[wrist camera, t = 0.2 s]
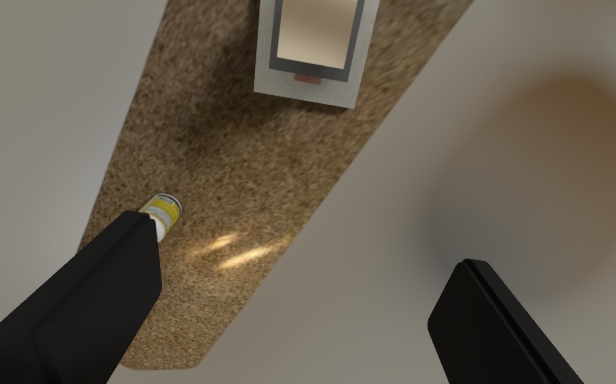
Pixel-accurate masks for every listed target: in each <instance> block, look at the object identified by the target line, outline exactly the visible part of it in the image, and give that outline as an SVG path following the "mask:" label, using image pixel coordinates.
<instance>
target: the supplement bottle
mask: <svg viewBox="0 0 616 384" xmlns="http://www.w3.org/2000/svg"><path fill="white" fill-rule="evenodd" d="M181 211H182V209H181V205H180V203H179V202H178V200H177V199H176V198H174V197H173V196H171V195H168V194H157V195H155V196H153V197H152V198H151V199H150V200H149V201H148V202H147V203H146V204H145V205H144V206H143V207H142V208H141V209H140V210H139V211H138V212H143V213H148V214H149V215H150V218H151V219H154V220H155V221H156V229H157V239H158V242H160V241H161V240H162V239H163V238H164V236H165V235H166V234H167V232H168V231H169V230H170V228H171V227H172V226H173V224H174V223H175V222H176V220H177V219H178V218H179V216H180V215H181Z"/></svg>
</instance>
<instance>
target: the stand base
mask: <svg viewBox="0 0 616 384" xmlns="http://www.w3.org/2000/svg"><path fill="white" fill-rule="evenodd" d="M379 1H380V0H358V1H357V6H356V11H355V16H354V21H353V25H352V30H351V35H350V40H349V45H348V50H347V55H346V60H345V65H344V69H340V68H334V67H329V66H323V65H318V64H312V63H307V62H301V61H296V60H290V59H285V58H279V57H277V52H278V42H279V33H280V23H281V14H282V4H283V0H261V1H260V14H259V27H258V41H257V54H256V67H255V81H254V92H259V93H265V94H270V95H276V96H282V97H288V98H293V99H299V100H305V101H311V102H317V103H322V104H328V105H334V106H340V107H345V108H351V109H354V108H355V103H356V99H357V95H358V91H359V86H360V82H361V78H362V73H363V69H364V65H365V61H366V56H367V52H368V48H369V44H370V39H371V35H372V31H373V26H374V22H375V18H376V14H377V9H378V5H379Z"/></svg>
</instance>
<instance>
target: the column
mask: <svg viewBox="0 0 616 384" xmlns="http://www.w3.org/2000/svg"><path fill="white" fill-rule="evenodd" d="M357 1H358V0H283V4H282V14H281V23H280V33H279V42H278V52H277V57H279V58H285V59H290V60H296V61H301V62H307V63H312V64H318V65H323V66H329V67H334V68H340V69H344V65H345V60H346V55H347V50H348V45H349V40H350V35H351V30H352V25H353V21H354V16H355V11H356V6H357Z"/></svg>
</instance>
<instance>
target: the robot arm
mask: <svg viewBox="0 0 616 384" xmlns="http://www.w3.org/2000/svg"><path fill="white" fill-rule="evenodd" d="M161 289H162V281H161V270H160V260H159V249H158V239H157V229H156V221H155V220H154V219H151V218H150V215H149V214H148V213H143V212H136V211H129V210H128V211H125V212H123V213H122V214H121V215H120V216H119V217H118V218H116V219H115V220H114V221H113V222H112V223H111V224H110V225H109V226H107V227H106V228H105V229H104V230H103V231H102V232H101V233H100V234H98V235H97V236H96V237H95V238H94V239H93V240H92V241H91V242H90V243H88V244H87V245H86V246H85V247H84V248H83V249H82V250H81V251H79V252H78V253H77V254H76V255H75V256H74V257H73V258H72V259H71V260H69V261H68V262H67V263H66V264H65V265H64V266H63V267H62V268H60V269H59V270H58V271H57V272H56V273H55V274H54V275H53V276H52V277H51V278H49V279H48V280H47V281H46V282H45V283H44V284H43V285H42V286H40V287H39V288H38V289H37V290H36V291H35V292H34V293H33V294H31V295H30V296H29V297H28V298H27V299H26V300H25V301H24V302H22V303H21V304H20V305H19V306H18V307H17V308H16V309H15V310H14V311H12V312H11V313H10V314H9V315H8V316H7V317H6V318H5V319H3V320H2V321H1V322H0V384H106V383H107V382H108V380H109V378H110V377H111V375H112V373H113V372H114V370H115V368H116V367H117V365H118V364H119V362H120V360H121V359H122V357H123V355H124V354H125V352H126V350H127V349H128V347H129V345H130V344H131V342H132V340H133V339H134V337H135V336H136V334H137V332H138V331H139V329H140V327H141V326H142V324H143V322H144V321H145V319H146V317H147V316H148V314H149V312H150V311H151V309H152V307H153V306H154V304H155V303H156V301H157V299H158V297H159V296H160V293H161ZM428 331H429V334H430V336H431V339H432V341H433V344H434V346H435V349H436V351H437V354H438V356H439V359H440V361H441V364H442V366H443V369H444V371H445V374H446V376H447V379H448V381H449V384H584V383H583V382H582V380H581V379H580V378H579V377H578V375H577V374H576V373H575V372H574V370H573V369H572V368H571V367H570V366H569V364H568V363H567V362H566V360H565V359H564V358H563V357H562V355H561V354H560V353H559V351H558V350H557V349H556V348H555V347H554V345H553V344H552V343H551V341H550V340H549V339H548V338H547V336H546V335H545V334H544V333H543V331H542V330H541V329H540V328H539V326H538V325H537V324H536V323H535V321H534V320H533V319H532V318H531V316H530V315H529V314H528V312H527V311H526V310H525V309H524V307H523V306H522V305H521V304H520V302H519V301H518V300H517V299H516V297H514V295H513V294H512V292H511V291H510V290H509V289H508V287H507V286H506V285H505V284H504V282H503V281H502V280H501V279H500V277H499V276H498V275H497V273H496V272H495V271H494V270H493V268H492V267H491V266H490V265H489V264H488V263H487V262H485V261H480V260H474V259H464V260H463V261H462V262H460V263H458V264H457V265H456V267H455V269H454V271H453V273H452V275H451V276H450V278H449V280H448V282H447V284H446V286H445V288H444V290H443V292H442V294H441V296H440V298H439V300H438V302H437V303H436V305H435V307H434V309H433V311H432V313H431V315H430V317H429V319H428Z"/></svg>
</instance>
